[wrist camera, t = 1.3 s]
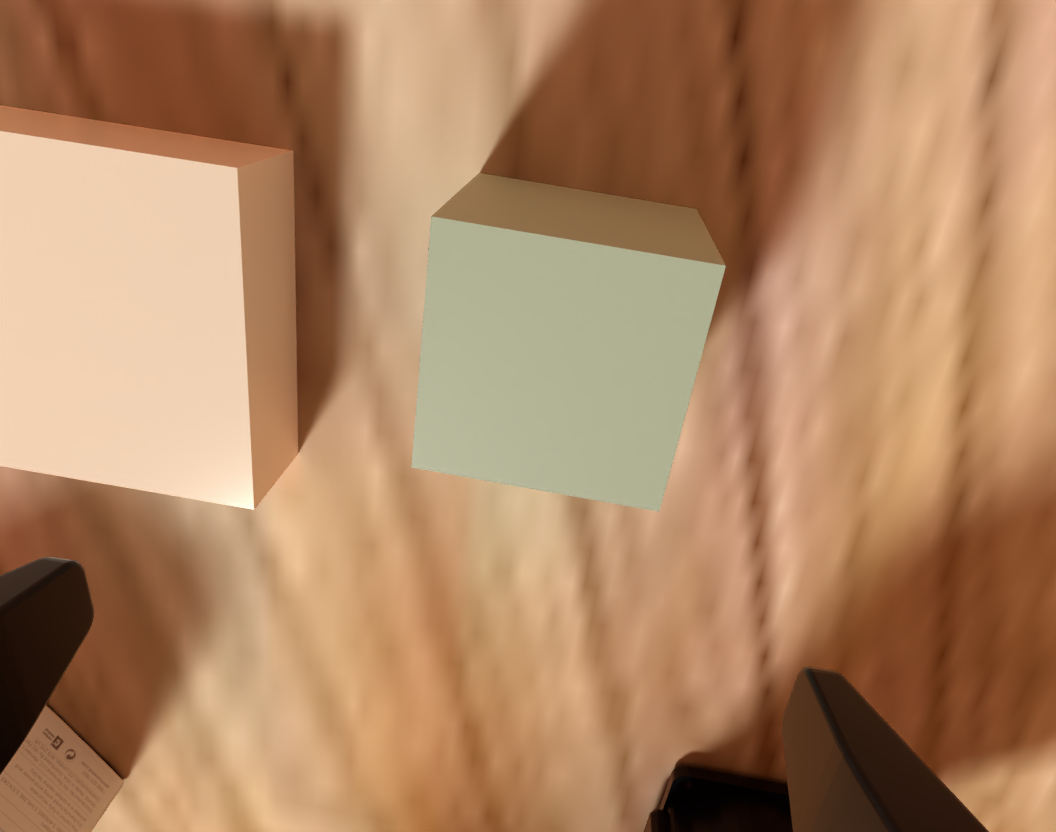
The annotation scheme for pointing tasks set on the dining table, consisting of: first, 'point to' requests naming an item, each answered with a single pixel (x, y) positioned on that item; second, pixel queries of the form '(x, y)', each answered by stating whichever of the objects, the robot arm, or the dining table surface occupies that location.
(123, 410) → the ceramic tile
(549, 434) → the sage cube
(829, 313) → the dining table surface
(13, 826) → the small box
